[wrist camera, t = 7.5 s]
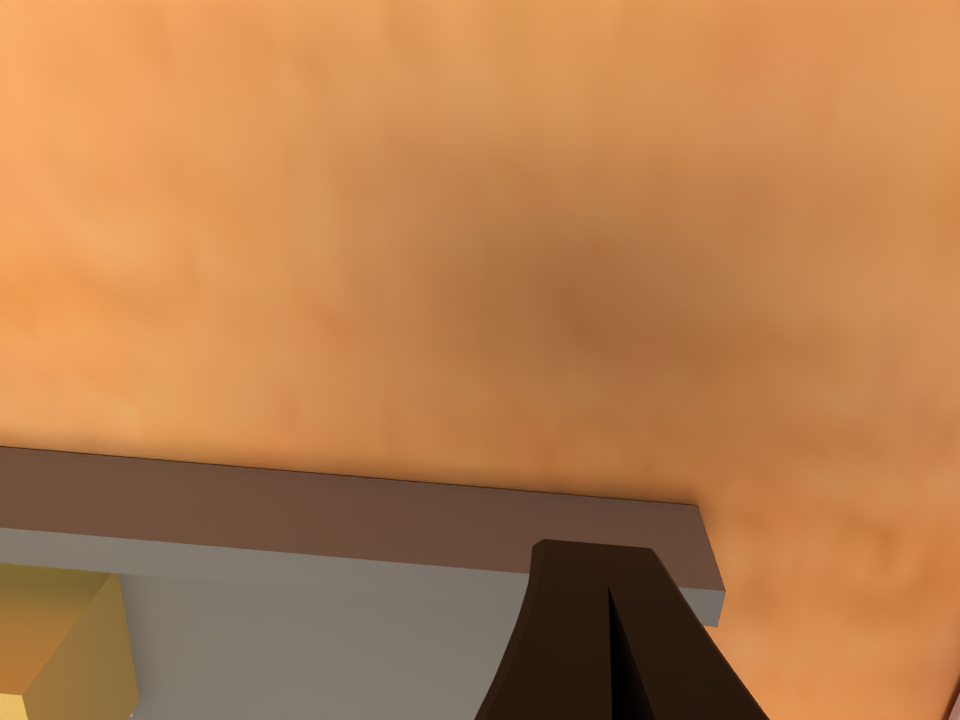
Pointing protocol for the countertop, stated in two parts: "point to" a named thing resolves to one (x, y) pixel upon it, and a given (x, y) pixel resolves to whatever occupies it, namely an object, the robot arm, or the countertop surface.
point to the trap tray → (316, 578)
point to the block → (64, 645)
